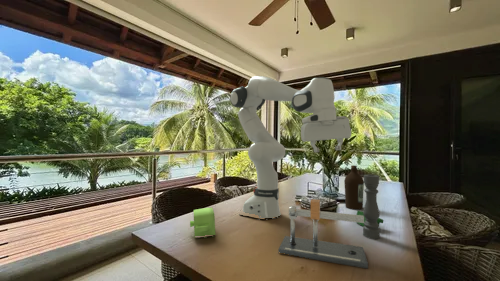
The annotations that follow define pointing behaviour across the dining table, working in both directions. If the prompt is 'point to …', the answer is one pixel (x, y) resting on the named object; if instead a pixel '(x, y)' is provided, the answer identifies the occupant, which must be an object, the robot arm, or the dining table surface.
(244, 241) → the dining table surface
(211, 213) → the gearbox
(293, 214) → the dividers frame
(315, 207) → the leg
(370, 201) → the candle holder
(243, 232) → the dining table surface
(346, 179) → the olive oil
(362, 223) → the clamp
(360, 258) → the bolt plate
